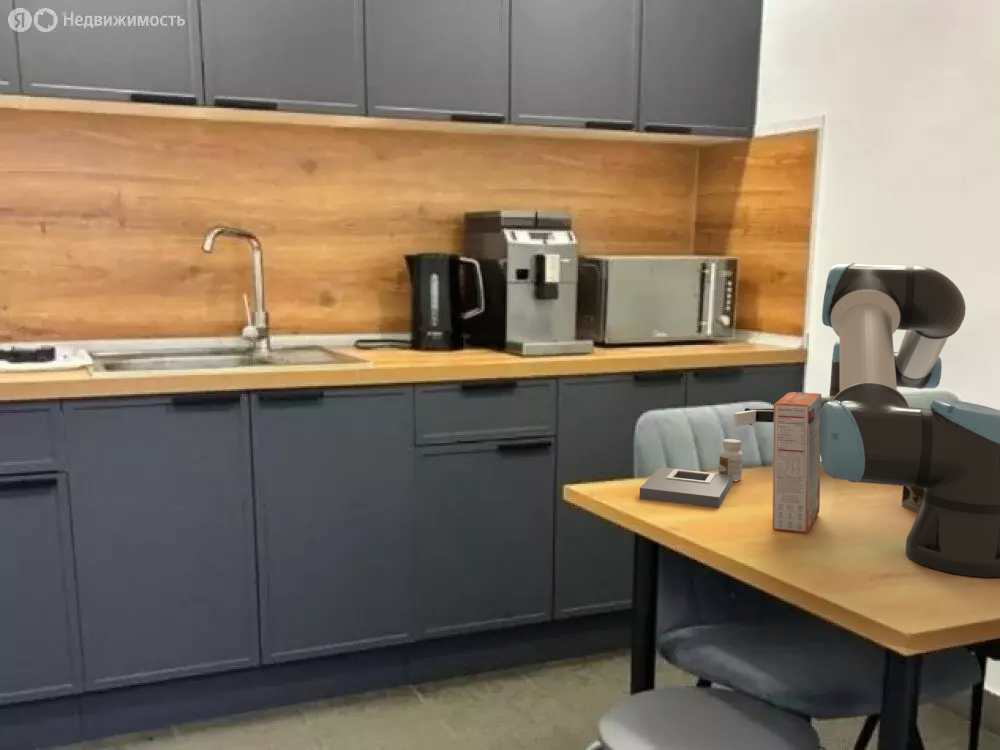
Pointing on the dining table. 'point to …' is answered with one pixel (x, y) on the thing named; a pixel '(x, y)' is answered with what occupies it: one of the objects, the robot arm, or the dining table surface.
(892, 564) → the dining table surface
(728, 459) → the pill bottle
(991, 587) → the dining table surface
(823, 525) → the dining table surface
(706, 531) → the dining table surface
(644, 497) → the socket plate
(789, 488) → the cracker box
